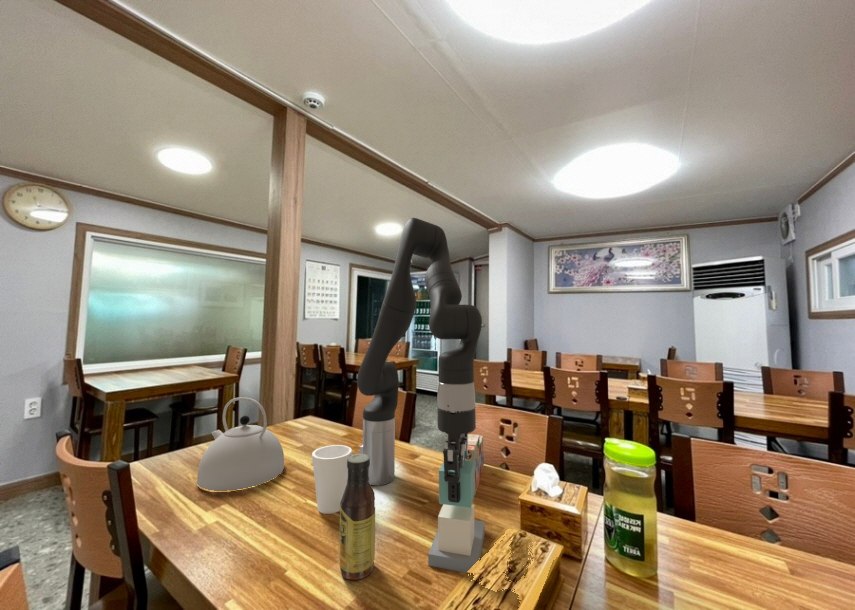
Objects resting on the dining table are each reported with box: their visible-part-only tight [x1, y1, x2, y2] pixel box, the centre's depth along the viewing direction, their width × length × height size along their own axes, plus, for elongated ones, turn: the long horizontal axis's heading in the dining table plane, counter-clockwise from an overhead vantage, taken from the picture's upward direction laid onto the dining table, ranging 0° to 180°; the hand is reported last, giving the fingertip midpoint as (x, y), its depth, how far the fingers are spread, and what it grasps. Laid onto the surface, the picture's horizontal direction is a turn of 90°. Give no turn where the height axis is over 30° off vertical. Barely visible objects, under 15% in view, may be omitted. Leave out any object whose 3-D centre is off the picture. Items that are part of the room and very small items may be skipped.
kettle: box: [196, 396, 285, 491], centre depth 101 cm, size 25×23×22 cm
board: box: [427, 519, 486, 574], centre depth 66 cm, size 9×13×2 cm
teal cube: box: [438, 461, 476, 508], centre depth 65 cm, size 6×6×6 cm
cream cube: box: [437, 503, 475, 556], centre depth 65 cm, size 6×6×6 cm
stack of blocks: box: [466, 433, 485, 498], centre depth 97 cm, size 21×6×12 cm, turn 164°
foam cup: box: [311, 444, 353, 515], centre depth 82 cm, size 10×9×13 cm
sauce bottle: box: [338, 453, 376, 581], centre depth 60 cm, size 6×6×20 cm
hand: (457, 492), depth 65 cm, fingers closed on teal cube, 6 cm apart
